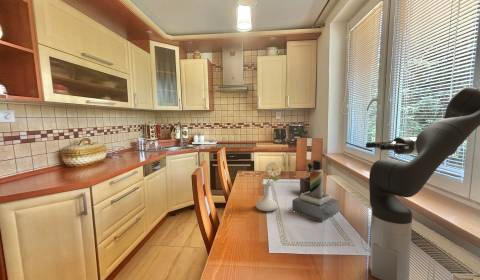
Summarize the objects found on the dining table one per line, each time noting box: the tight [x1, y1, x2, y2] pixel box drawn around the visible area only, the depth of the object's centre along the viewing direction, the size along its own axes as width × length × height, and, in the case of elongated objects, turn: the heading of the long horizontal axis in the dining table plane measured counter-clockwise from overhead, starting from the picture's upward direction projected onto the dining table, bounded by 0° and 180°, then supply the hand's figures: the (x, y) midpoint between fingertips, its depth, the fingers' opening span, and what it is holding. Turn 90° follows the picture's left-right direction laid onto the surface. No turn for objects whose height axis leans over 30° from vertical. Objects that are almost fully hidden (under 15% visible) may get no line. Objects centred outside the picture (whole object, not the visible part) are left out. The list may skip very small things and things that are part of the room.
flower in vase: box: [255, 161, 282, 212], centre depth 107 cm, size 13×11×25 cm
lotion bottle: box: [309, 159, 324, 199], centre depth 103 cm, size 6×6×20 cm
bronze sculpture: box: [299, 162, 323, 194], centre depth 133 cm, size 16×11×18 cm
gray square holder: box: [291, 191, 340, 223], centre depth 104 cm, size 16×16×9 cm
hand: (373, 146), depth 90 cm, fingers open, 8 cm apart
